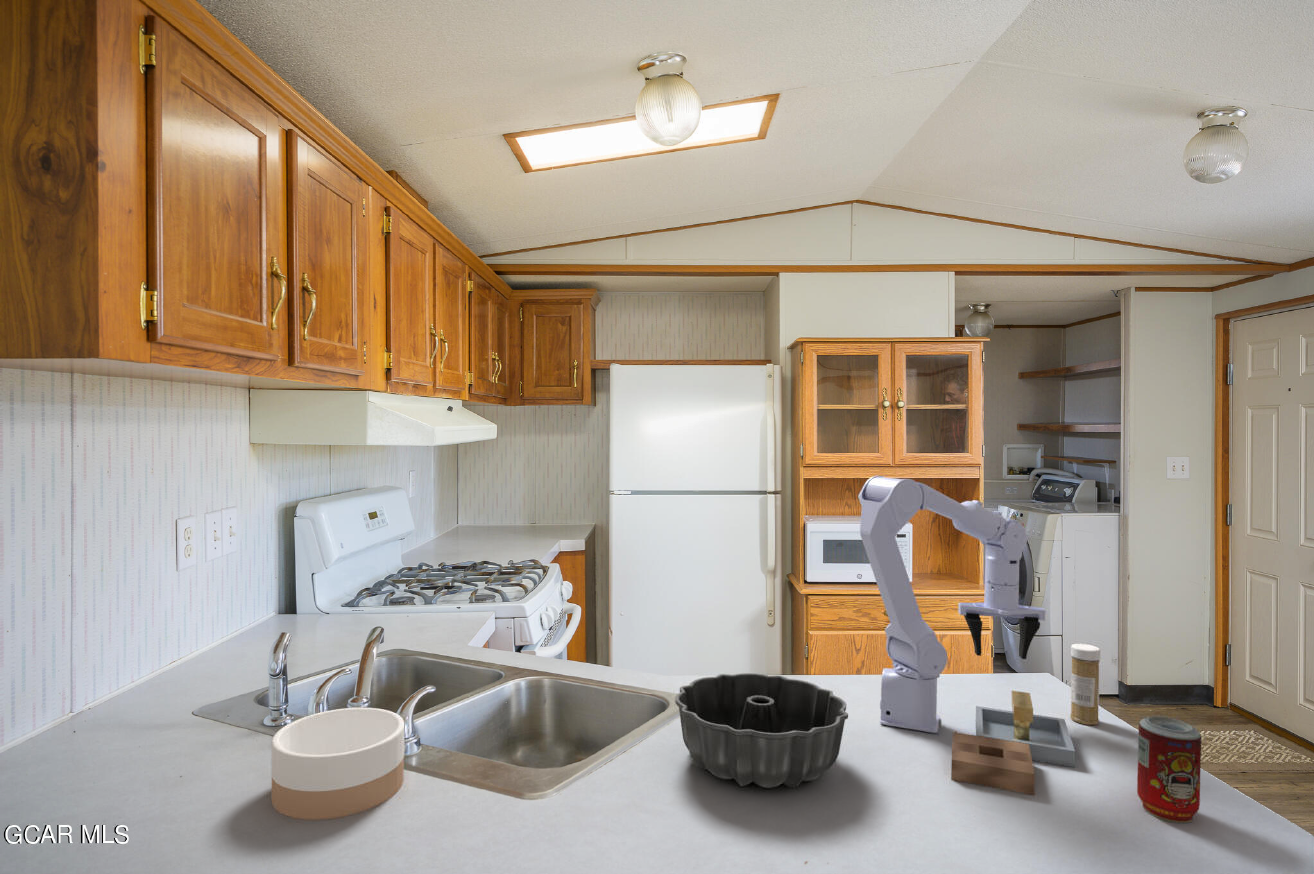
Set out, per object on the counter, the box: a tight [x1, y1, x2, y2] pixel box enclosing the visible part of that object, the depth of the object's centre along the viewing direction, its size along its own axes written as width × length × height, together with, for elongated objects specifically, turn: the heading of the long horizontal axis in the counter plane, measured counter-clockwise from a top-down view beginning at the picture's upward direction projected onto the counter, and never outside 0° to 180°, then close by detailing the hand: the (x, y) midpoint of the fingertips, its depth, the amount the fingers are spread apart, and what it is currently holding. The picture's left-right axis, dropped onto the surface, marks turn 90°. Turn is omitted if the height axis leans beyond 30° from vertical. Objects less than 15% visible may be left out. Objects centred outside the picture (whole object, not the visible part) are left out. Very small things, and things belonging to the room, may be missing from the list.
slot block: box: [950, 731, 1035, 796], centre depth 112 cm, size 11×11×3 cm
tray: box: [975, 705, 1076, 768], centre depth 123 cm, size 14×14×2 cm
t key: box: [1011, 690, 1034, 741], centre depth 123 cm, size 8×3×7 cm, turn 157°
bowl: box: [270, 707, 405, 821], centre depth 104 cm, size 17×17×8 cm
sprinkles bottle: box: [1069, 643, 1101, 726], centre depth 133 cm, size 5×5×14 cm
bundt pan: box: [674, 672, 849, 789], centre depth 114 cm, size 26×26×10 cm
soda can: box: [1136, 715, 1203, 824], centre depth 101 cm, size 7×7×12 cm
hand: (1000, 655), depth 136 cm, fingers open, 7 cm apart
